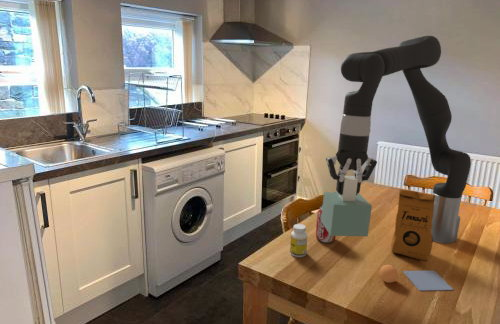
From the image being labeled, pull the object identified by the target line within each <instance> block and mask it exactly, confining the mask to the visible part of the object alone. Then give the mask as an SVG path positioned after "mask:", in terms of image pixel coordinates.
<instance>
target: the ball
mask: <svg viewBox="0 0 500 324" xmlns="http://www.w3.org/2000/svg"><path fill="white" fill-rule="evenodd" d="M378 273H379V277H380V279H381V280H382V281H384V282H385V283H388V284H391V283H394V282H396V280H397V279H398V276H399V273H398V270H397V269H396V267H395V266H394V265H392V264H384V265H383V266H381V267H380V269H379V272H378Z"/></svg>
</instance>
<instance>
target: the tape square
mask: <svg viewBox="0 0 500 324" xmlns="http://www.w3.org/2000/svg"><path fill="white" fill-rule="evenodd" d="M402 273H403V274H404V275H405V276H406V278H408V280H409V281H410V282H411V283H412V284H413V286H415V287H416V289H417V290H418V291H420V292H423V291H424V292H425V291H426V292H429V291H430V292H431V291H454V288H453V287H452V286H451V285H449V284H448V283H447V282H446V280H444V279H443V278H442V277H441V276H440V275H439V274H438V273H437V272H436V271H435V270H434V269H433V270H402Z"/></svg>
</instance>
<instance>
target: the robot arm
mask: <svg viewBox="0 0 500 324" xmlns="http://www.w3.org/2000/svg"><path fill="white" fill-rule="evenodd" d="M441 55H442V46H441V43H440V41H439V39H438V37H435V36H433V35H425V36H420V37H416V38H411V39H408V40H404V41H401V42H400V43H399V45H398V46H393V47H387V48H386V47H385V48H381V49H378V50H374V51H364V52H354V53H351V54H348V55H347V56H346V57H345V58H344V59H343V60H342V62H341V65H340V72H341V75H342V77H343V78H344V79H345V80H346V81H349V82H352V83H353V82H354V83H361V86H360V87H359V89H357V90H356V91H355V90H353V91H349V92H347V93H346V94H345V97H344V102H343V111H342V119H341V123H340V128H339V129H340V131H339V139H338V145H337V146H338V147H337V148H338V149H337V152H336V153H335V155H333V156H327V157H326V158H325V160H326V165H327V168H328V171H329V175H330V177H331V178H332V179H333V180H336V187H335V190H336V192H338V194H339V195H342V194H343V186H344V182H343V180H344V177H345V176H347V174H348V171H351V170H352V171H353V176H354V177H355V178H356V179H357V180H358V183H357V191H356V195H357V194H358V193H359V194H360V191H361V185H362V182H364V181H368V180H369V179H370V177H371V175H372V173H373V171H374V169H375V168H376V166H377V164H378V161H377V160H376V159H374V158H371V157H369V156H368V148H369V142H370V141H369V140H370V133H371V127H372V126H371V122H372V121H371V119H372V109H373V102H374V98H375V96H376V94H377V91H378V88H379V86H380V83H381V81H382V79H383V77H385V76H389V75H393V74H395V73H398V72H400V71H402V73H403V75H404V78H405V80H406V82H407V84H408V86H409V89H410V91H411V94H412V97H413V100H414V102H415V106H416V109H417V114H418V117H419V119H420V122H421V125H422V128H423V131H424V135H425V137H426V141H427V145H428V150H429V156H430V160H431V161H430V162H431V166H432V167H433V170H435V171H436V172H437V173H439V174H442V175H445V176H447V177H446V182H437V183H435V184H434V185H433V190H432V193H431V194H432V195H435V202H434V211H433V219H432V228H431V234H432V237H433V242H434V243H438V244H439V243H440V244H445V245H446V244H452V243H454V242H457V240H458V239H457V238H458V233H459V228H460V224H461V216H460V215H459V214H460V209H461V208H460V207H461V203H462V197H463V193H464V191H465V190H466V186H467V183H468V178H469V175H470V171H471V166H472V165H471V164H472V159H471V156H470V155H469V154H468V153H466V152H463V151H460V150H455V149H452V148H451V147H450V146H449V144H448V140H447V132H448V129H449V127H450V125H451V123H452V112H451V108H450V104H449V100H448V99H447V97H446V95H444V94H443V92H442V91H440V89H438V88H437V87H436V86H434V85H433V84H432V83H430V81H428V80H427V78H426V77H425V76H424V74H423V72H422V70H421V69H424V68H425V69H427V68H430V67H433V66H434V65H437V64H438V62H439V61H440V58H441ZM337 162H338V163H339V167H338V172H337V171H336V167H335V165H336V164H337ZM363 165H365V168H364V169H363V171H362V166H363Z"/></svg>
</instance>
